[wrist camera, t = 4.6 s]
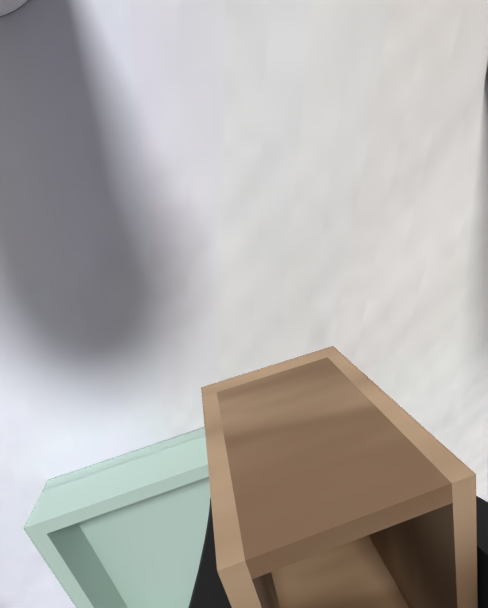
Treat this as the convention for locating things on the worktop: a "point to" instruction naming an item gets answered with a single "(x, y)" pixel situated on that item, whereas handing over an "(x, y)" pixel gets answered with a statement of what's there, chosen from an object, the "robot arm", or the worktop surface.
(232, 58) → the worktop surface
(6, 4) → the coffee cup
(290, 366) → the small crate
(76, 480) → the mint green tray
